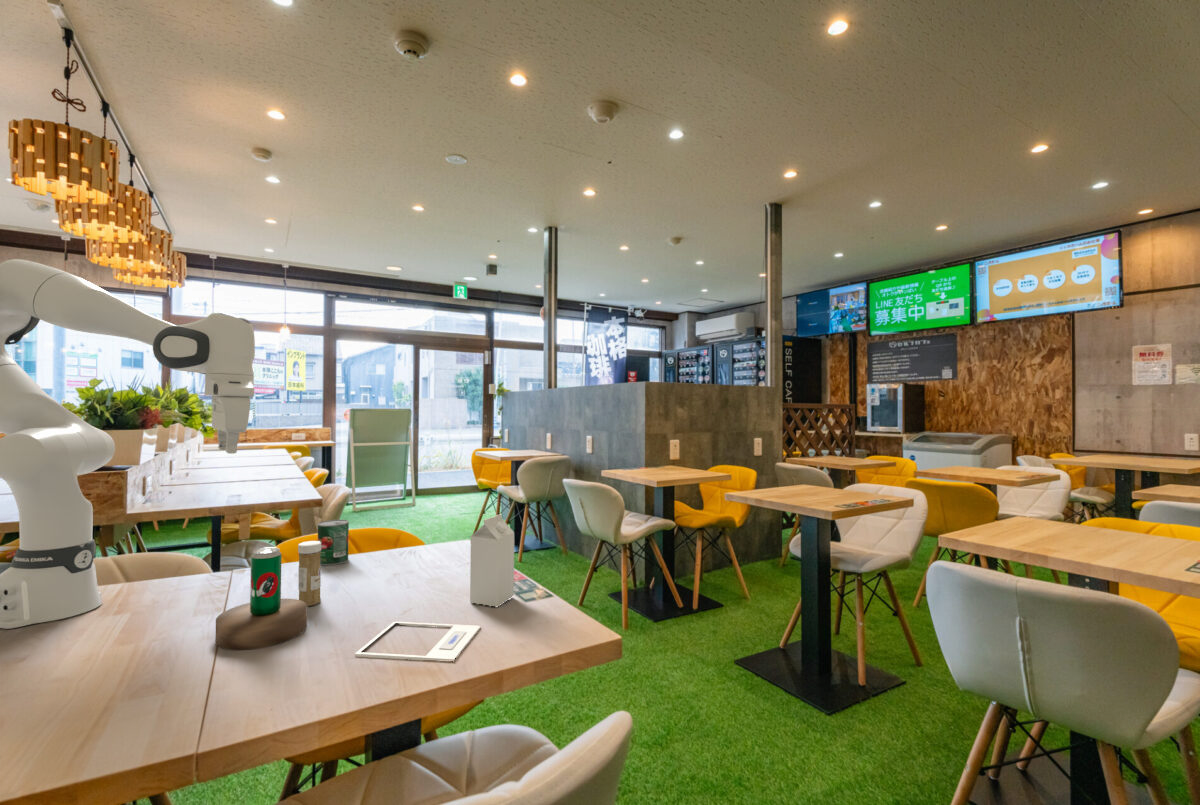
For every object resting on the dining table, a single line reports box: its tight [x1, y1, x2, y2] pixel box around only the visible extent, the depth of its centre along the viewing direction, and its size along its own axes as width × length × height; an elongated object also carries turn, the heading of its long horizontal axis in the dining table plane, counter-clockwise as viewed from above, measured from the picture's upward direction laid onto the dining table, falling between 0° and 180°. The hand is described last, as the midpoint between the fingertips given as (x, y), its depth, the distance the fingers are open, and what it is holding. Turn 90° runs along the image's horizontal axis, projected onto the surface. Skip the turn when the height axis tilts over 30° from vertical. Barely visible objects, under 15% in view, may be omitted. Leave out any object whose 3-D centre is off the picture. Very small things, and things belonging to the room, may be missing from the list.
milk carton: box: [469, 513, 515, 607], centre depth 126 cm, size 7×7×19 cm
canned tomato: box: [317, 519, 350, 566], centre depth 156 cm, size 8×8×11 cm
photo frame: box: [354, 621, 482, 661], centre depth 104 cm, size 15×1×18 cm
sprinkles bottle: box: [297, 540, 322, 607], centre depth 123 cm, size 5×5×14 cm
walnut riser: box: [215, 598, 308, 651], centre depth 107 cm, size 15×15×4 cm
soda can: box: [249, 546, 282, 616], centre depth 107 cm, size 5×5×12 cm
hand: (227, 451), depth 121 cm, fingers open, 8 cm apart
